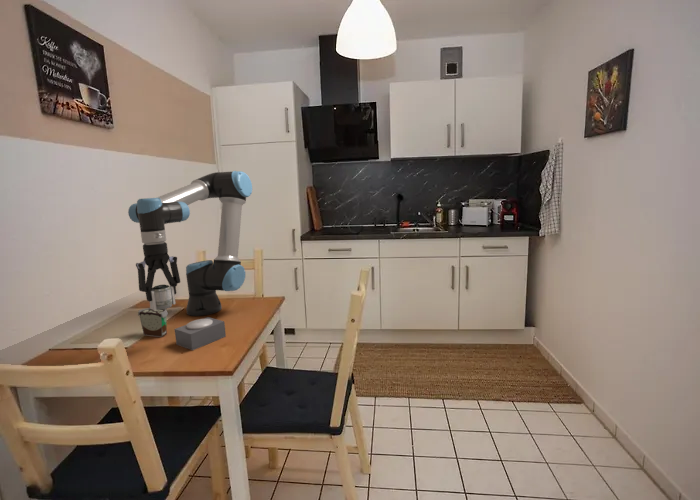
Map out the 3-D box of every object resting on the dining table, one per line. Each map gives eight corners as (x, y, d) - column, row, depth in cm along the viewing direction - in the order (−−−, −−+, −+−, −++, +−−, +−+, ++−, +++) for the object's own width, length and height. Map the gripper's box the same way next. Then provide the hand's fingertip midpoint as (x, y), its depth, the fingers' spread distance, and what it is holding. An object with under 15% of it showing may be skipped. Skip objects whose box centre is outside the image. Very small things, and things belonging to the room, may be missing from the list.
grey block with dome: (175, 344, 138) (172, 326, 137) (208, 331, 149) (206, 314, 148) (192, 350, 132) (190, 332, 131) (225, 336, 143) (224, 319, 142)
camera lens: (176, 305, 136) (174, 284, 135) (161, 310, 131) (158, 289, 129) (165, 303, 139) (162, 283, 138) (149, 308, 134) (146, 287, 132)
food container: (177, 331, 150) (174, 307, 149) (165, 337, 145) (162, 312, 143) (153, 329, 154) (150, 305, 153) (140, 334, 149) (137, 310, 147)
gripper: (130, 248, 121) (140, 316, 125) (186, 239, 136) (193, 300, 140) (120, 246, 125) (130, 312, 130) (175, 238, 141) (182, 297, 145)
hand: (163, 306), depth 135 cm, fingers closed on camera lens, 6 cm apart
